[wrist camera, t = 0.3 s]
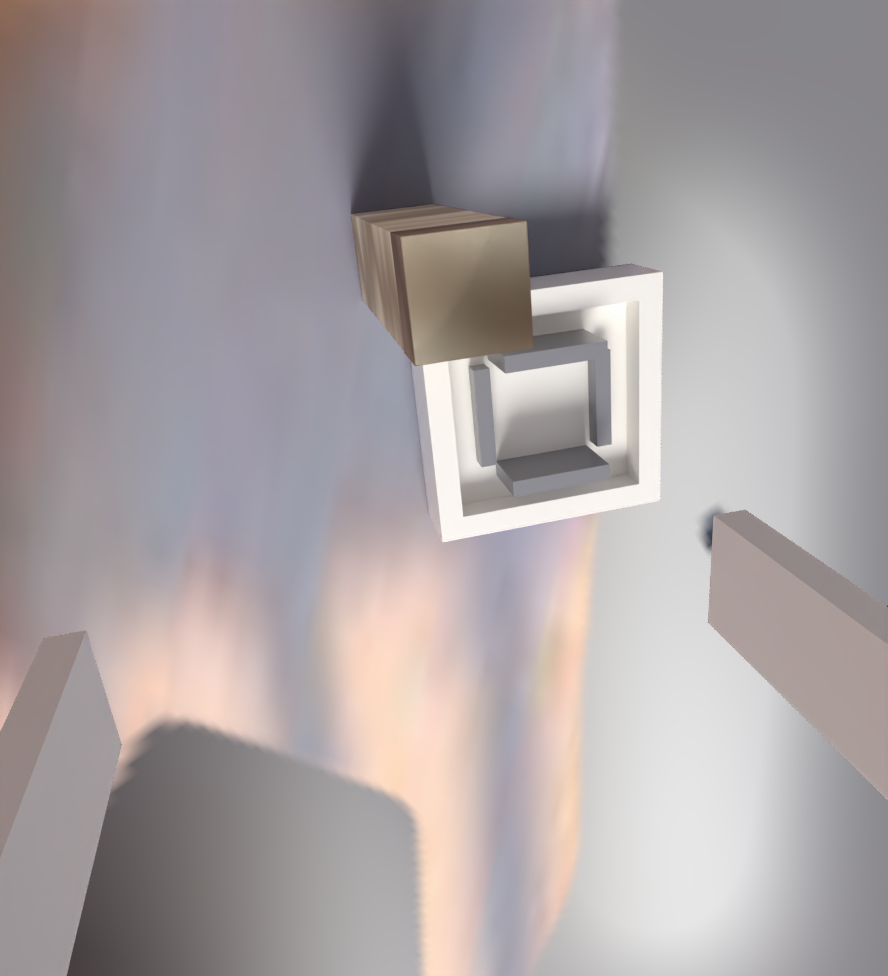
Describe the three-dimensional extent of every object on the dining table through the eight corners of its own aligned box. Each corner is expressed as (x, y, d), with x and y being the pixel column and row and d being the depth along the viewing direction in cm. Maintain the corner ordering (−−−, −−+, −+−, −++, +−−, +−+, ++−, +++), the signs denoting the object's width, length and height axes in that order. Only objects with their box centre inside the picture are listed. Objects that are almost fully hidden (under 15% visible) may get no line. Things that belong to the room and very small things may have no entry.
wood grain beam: (350, 213, 36) (400, 236, 24) (434, 203, 37) (526, 220, 24) (362, 300, 38) (415, 366, 25) (442, 289, 39) (533, 347, 26)
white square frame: (403, 295, 38) (422, 311, 34) (630, 263, 40) (678, 275, 36) (428, 515, 43) (449, 555, 38) (631, 477, 45) (673, 511, 40)
